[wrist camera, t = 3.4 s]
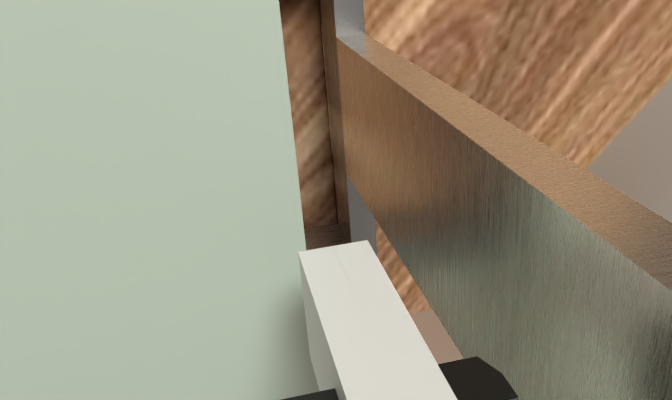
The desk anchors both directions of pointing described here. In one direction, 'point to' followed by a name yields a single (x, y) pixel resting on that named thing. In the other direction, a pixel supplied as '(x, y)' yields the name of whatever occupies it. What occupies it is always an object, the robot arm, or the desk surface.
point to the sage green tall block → (149, 203)
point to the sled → (496, 228)
